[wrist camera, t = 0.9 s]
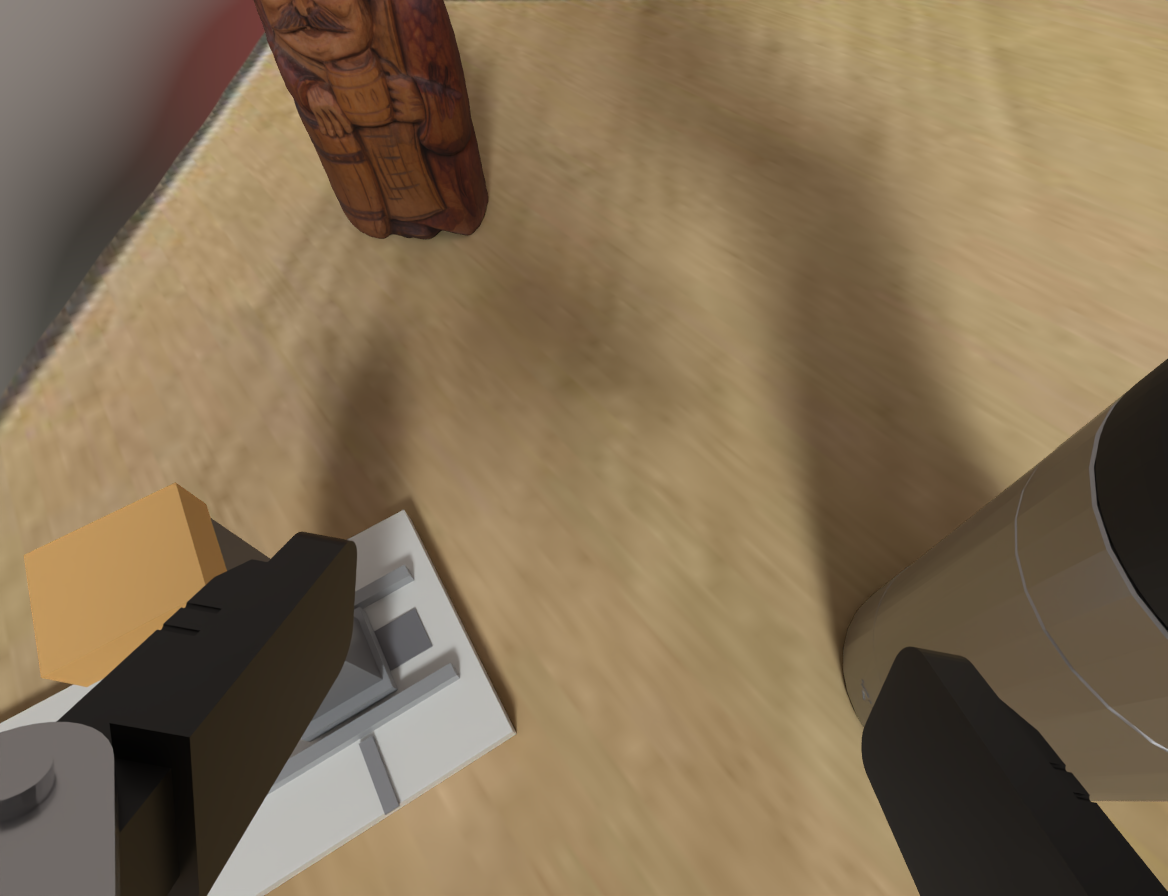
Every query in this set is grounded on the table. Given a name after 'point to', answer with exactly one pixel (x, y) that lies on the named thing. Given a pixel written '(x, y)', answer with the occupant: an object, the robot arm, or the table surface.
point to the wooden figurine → (383, 110)
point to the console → (366, 722)
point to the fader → (160, 596)
